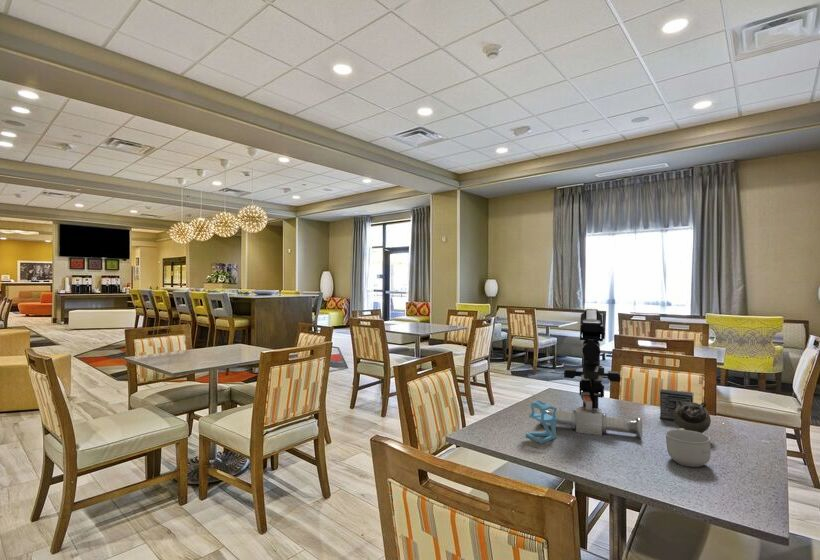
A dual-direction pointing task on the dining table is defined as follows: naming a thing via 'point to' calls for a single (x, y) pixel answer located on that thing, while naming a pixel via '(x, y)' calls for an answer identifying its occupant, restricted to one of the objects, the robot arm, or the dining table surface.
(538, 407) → the chair
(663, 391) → the small box
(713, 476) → the dining table surface
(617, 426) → the valve manifold
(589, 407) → the valve lever
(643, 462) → the dining table surface
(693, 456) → the teacup
